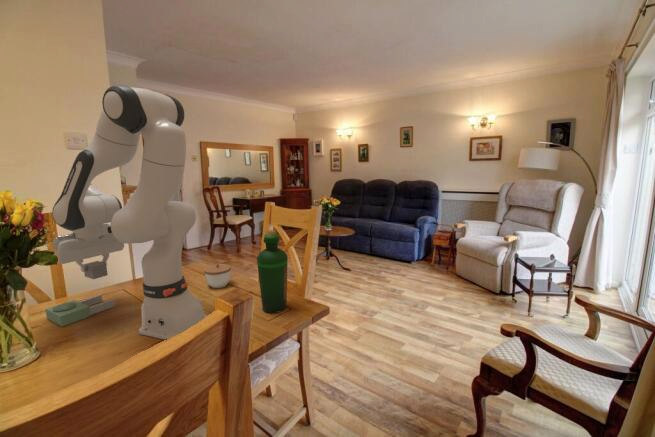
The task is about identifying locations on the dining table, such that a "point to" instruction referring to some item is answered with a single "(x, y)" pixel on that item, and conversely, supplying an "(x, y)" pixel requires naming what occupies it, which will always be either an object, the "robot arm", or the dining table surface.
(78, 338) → the dining table surface
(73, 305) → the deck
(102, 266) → the grey rectangular block
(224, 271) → the lidded jar
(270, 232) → the bottle
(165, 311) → the robot arm
